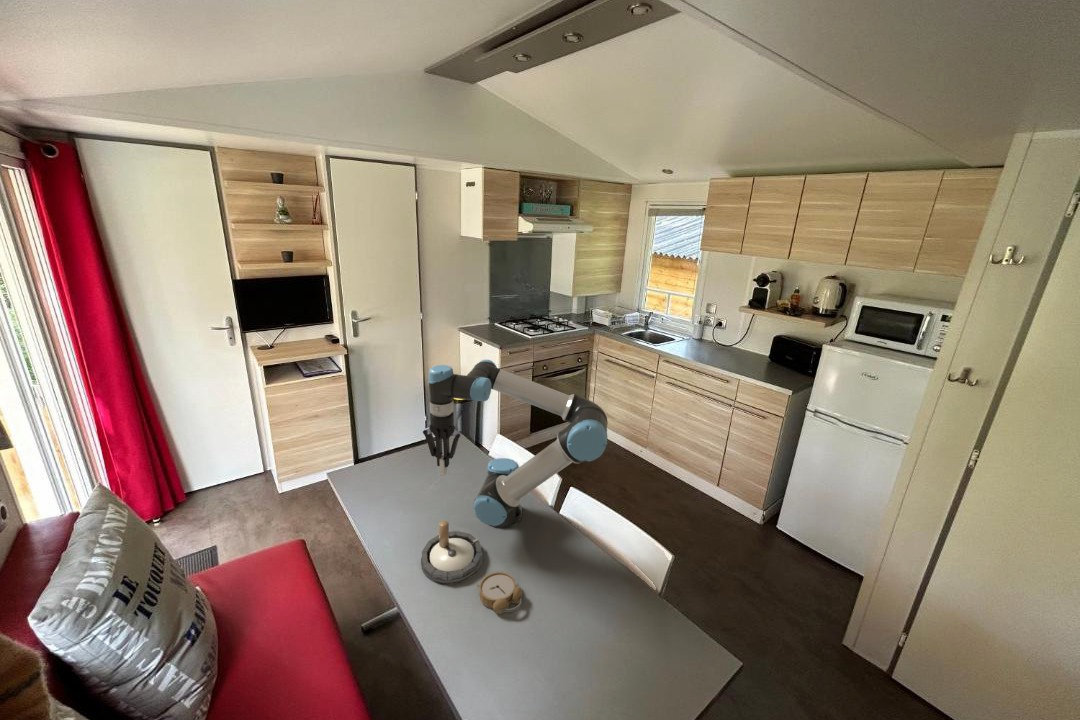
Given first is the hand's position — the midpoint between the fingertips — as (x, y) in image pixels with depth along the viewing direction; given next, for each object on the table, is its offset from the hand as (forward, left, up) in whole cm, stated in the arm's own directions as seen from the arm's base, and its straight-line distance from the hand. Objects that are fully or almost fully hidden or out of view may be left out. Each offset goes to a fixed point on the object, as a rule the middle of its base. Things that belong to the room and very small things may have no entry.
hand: (443, 473), depth 149 cm
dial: (-1, +14, -23) cm, 27 cm away
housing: (-1, +14, -24) cm, 28 cm away
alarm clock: (-14, +33, -25) cm, 43 cm away
